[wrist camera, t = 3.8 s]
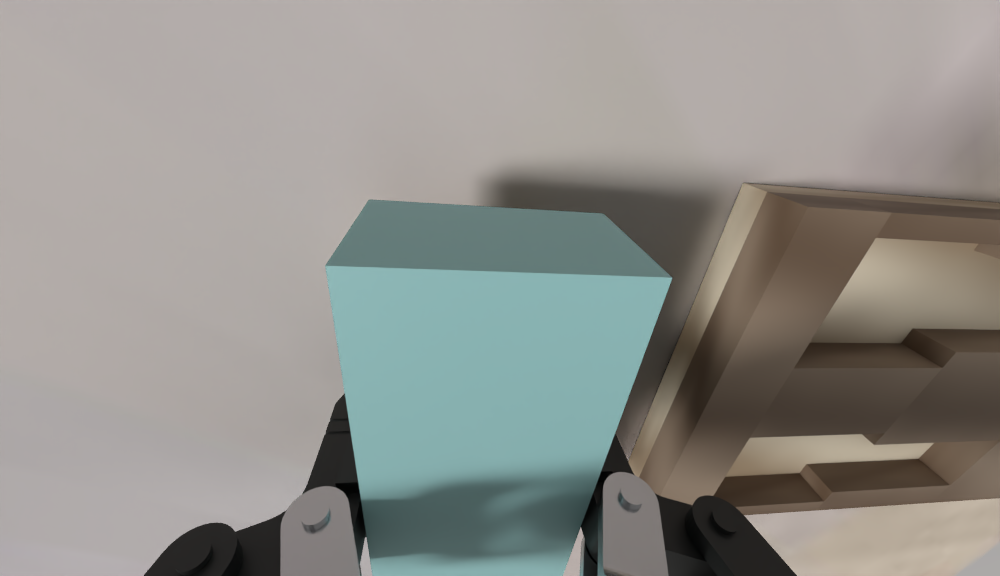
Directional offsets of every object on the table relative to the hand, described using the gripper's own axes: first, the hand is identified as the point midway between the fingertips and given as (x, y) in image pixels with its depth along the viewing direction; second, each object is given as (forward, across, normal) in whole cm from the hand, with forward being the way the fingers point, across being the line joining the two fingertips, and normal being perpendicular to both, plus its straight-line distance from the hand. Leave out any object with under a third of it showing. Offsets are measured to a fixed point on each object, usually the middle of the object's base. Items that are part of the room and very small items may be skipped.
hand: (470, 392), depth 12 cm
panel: (+1, 0, 0) cm, 1 cm away
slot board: (+2, -18, 0) cm, 18 cm away
